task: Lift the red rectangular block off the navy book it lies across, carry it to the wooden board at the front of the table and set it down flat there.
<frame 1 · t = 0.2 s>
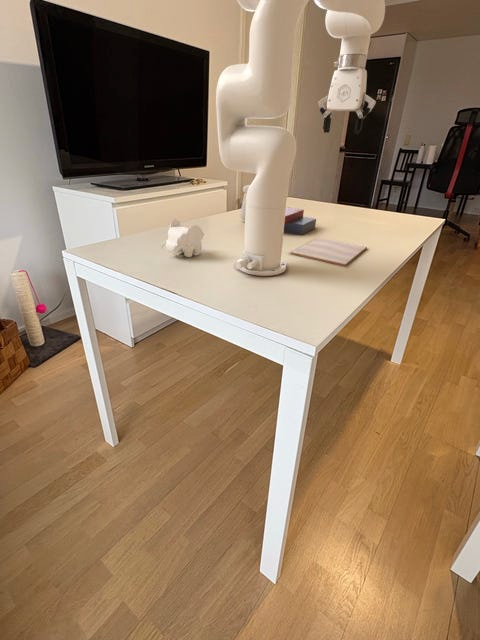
hand: (341, 133, 106), 31 cm above the table, tool pointing down, fingers open, 9 cm apart
elephant figurine: (184, 255, 95), on the table
salt shaker: (247, 222, 132), on the table
navy book: (286, 227, 125), on the table, touching red rectangular block
red rectangular block: (284, 219, 121), point 3 cm above the table, touching navy book
wooden board: (329, 251, 102), on the table
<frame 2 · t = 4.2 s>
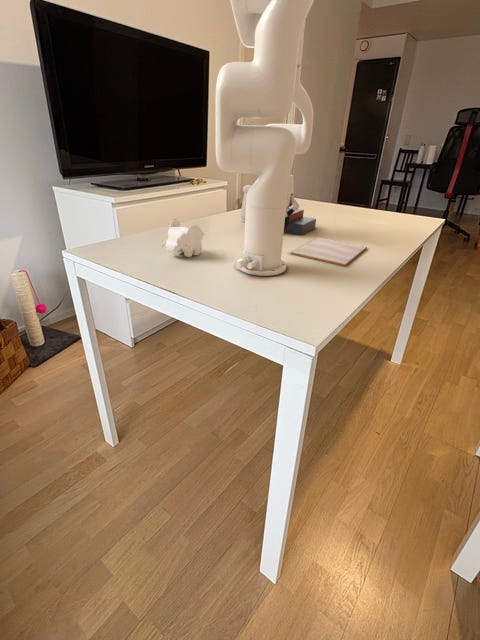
hand: (275, 225, 117), 2 cm above the table, tool pointing down, fingers closed on red rectangular block, 6 cm apart
red rectangular block: (284, 219, 121), point 3 cm above the table, touching gripper, navy book
everything else where it was.
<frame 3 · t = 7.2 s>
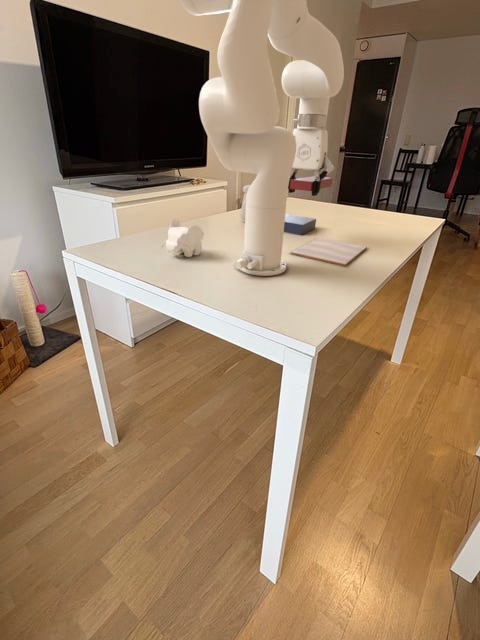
hand: (302, 193, 100), 15 cm above the table, tool pointing down, fingers closed on red rectangular block, 6 cm apart
navy book: (286, 227, 125), on the table
red rectangular block: (311, 187, 104), point 16 cm above the table, touching gripper
everything else where it was.
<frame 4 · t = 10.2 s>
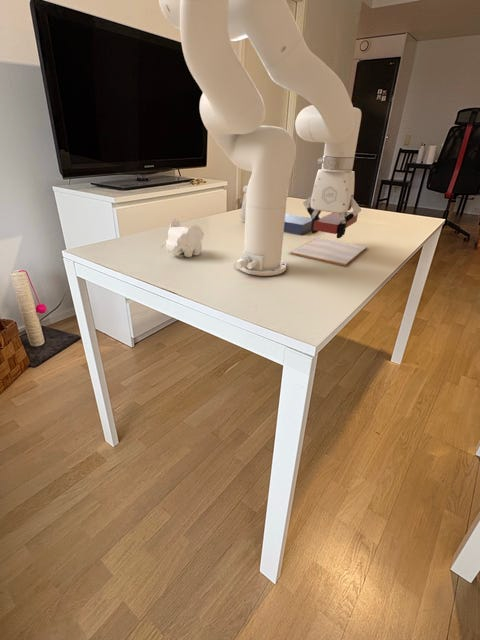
hand: (327, 234, 95), 6 cm above the table, tool pointing down, fingers closed on red rectangular block, 6 cm apart
red rectangular block: (335, 225, 99), point 7 cm above the table, touching gripper
everything else where it was.
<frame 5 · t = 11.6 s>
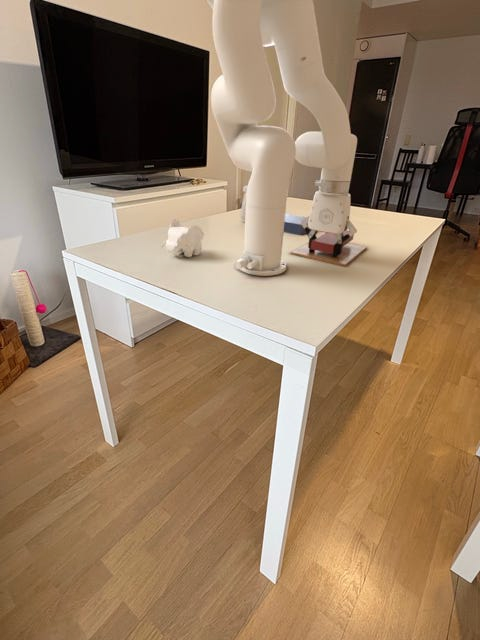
hand: (323, 253, 98), 1 cm above the table, tool pointing down, fingers closed on red rectangular block, 6 cm apart
red rectangular block: (332, 244, 102), point 2 cm above the table, touching gripper
everything else where it was.
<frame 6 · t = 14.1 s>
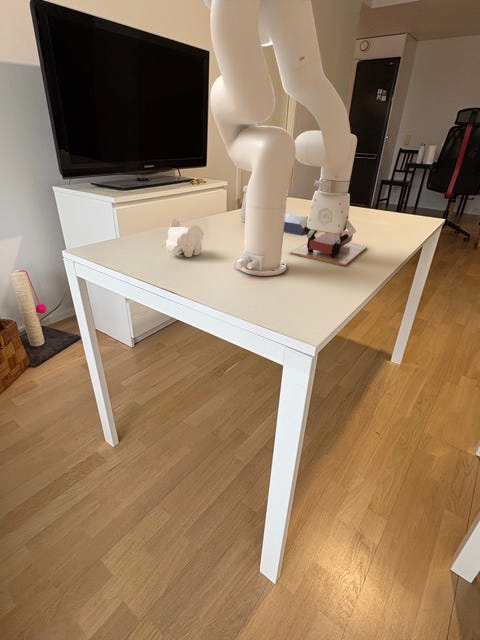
hand: (322, 253, 97), 1 cm above the table, tool pointing down, fingers closed on red rectangular block, 6 cm apart
red rectangular block: (331, 244, 102), point 2 cm above the table, touching gripper
everything else where it was.
when the fingers open (1 cm above the table, at t = 16.4 s): red rectangular block stays where it is, resting on wooden board.
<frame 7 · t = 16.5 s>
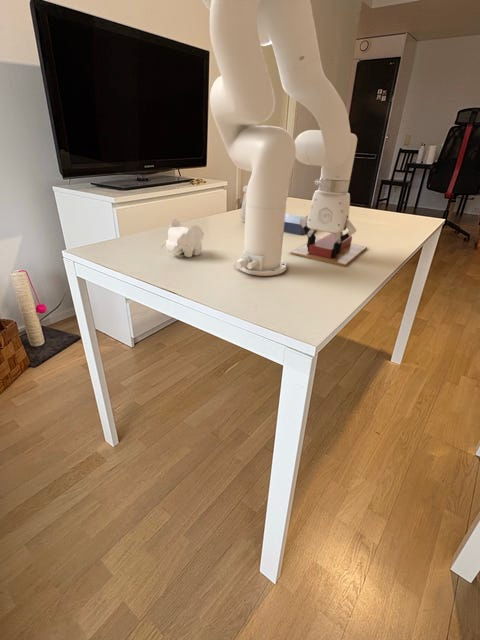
hand: (322, 252, 97), 1 cm above the table, tool pointing down, fingers open, 6 cm apart
red rectangular block: (330, 248, 102), point 1 cm above the table, touching wooden board
everything else where it was.
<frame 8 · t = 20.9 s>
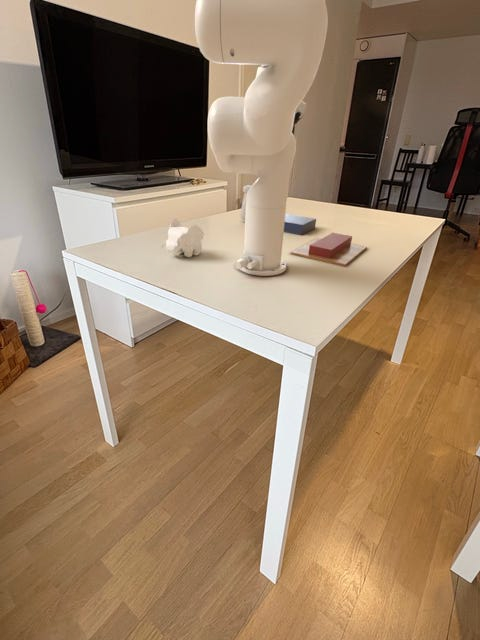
hand: (271, 142, 89), 28 cm above the table, tool pointing down, fingers open, 9 cm apart
nothing on the table moved.
at the end: red rectangular block inside the target area on the wooden board (0.4 cm from its centre), point 0.6 cm above the wooden board's base; red rectangular block touching wooden board; navy book moved 0.0 cm from its start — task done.
